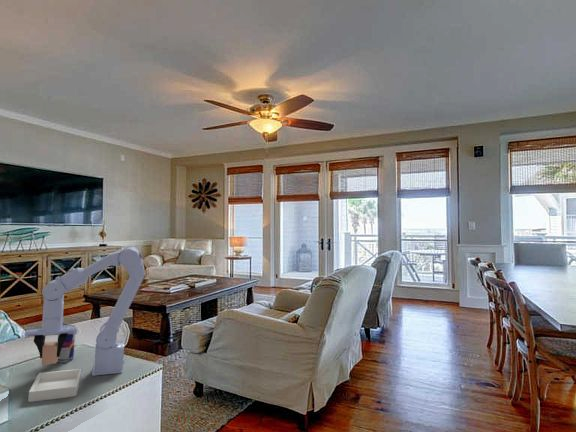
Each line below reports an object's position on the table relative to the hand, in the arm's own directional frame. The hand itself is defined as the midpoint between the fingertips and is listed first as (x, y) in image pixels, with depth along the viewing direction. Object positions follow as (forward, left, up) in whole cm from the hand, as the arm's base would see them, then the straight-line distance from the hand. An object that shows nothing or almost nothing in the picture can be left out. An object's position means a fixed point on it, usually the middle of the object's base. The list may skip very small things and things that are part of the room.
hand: (50, 356), depth 118 cm
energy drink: (-3, -11, -6) cm, 13 cm away
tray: (-4, +11, -6) cm, 13 cm away
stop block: (0, 0, -2) cm, 2 cm away
